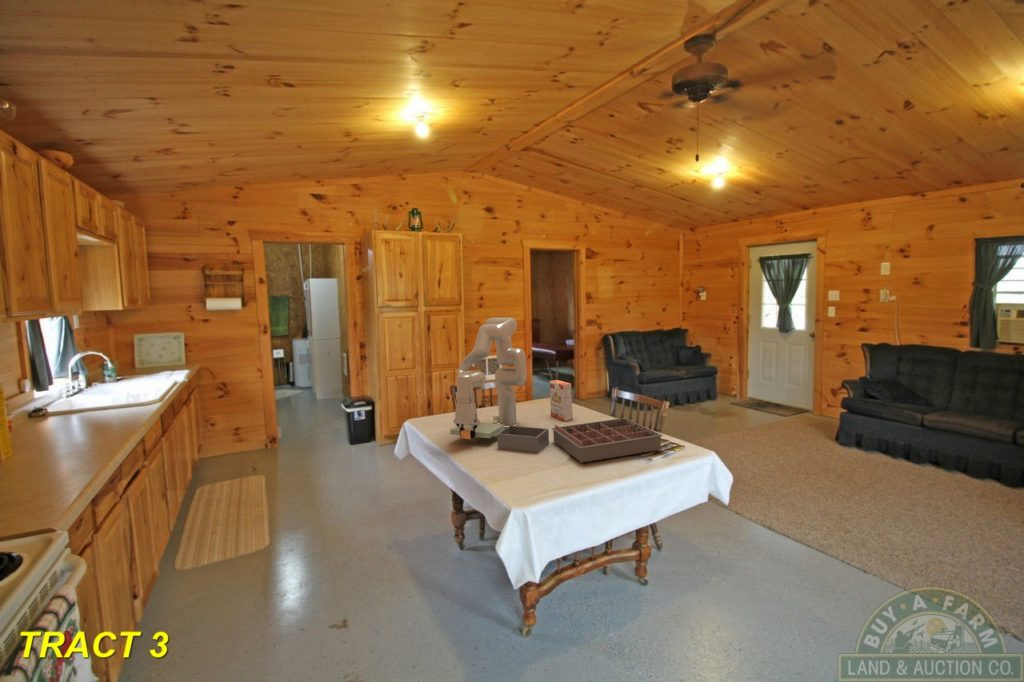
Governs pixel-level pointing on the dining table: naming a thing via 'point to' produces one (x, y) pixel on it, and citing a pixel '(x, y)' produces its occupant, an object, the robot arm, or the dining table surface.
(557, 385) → the cracker box
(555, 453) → the dining table surface
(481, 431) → the lid
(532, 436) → the tub
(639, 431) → the organizer tray
